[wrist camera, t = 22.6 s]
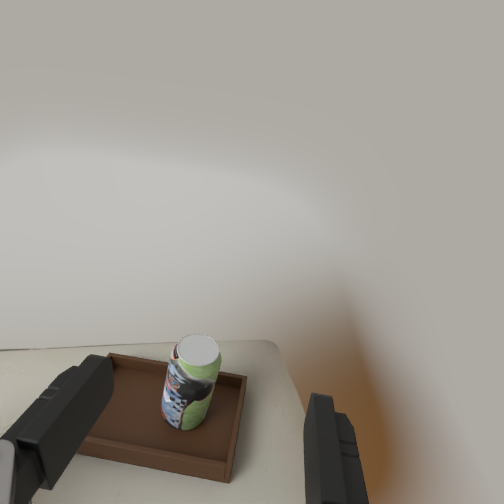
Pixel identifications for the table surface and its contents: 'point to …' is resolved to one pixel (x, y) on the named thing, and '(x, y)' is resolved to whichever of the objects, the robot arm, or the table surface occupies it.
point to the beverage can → (190, 381)
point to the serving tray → (165, 424)
